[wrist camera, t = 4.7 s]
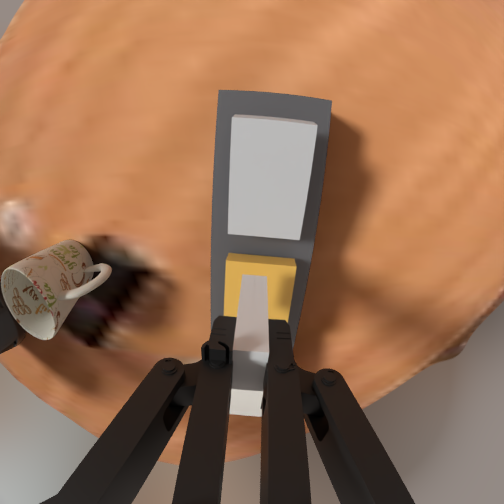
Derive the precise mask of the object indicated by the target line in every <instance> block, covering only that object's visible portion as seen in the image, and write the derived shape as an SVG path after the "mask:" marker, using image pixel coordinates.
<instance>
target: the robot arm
mask: <svg viewBox="0 0 504 504" xmlns="http://www.w3.org/2000/svg"><path fill="white" fill-rule="evenodd" d="M24 337H25V329H24V328H23V327H22V326H21V325H20V324H19V323H18V322H17V321H16V319H15V318H14V316H13V315H12V313H11V312H10V310H9V308H8V306H7V304H6V302H5V299H4V297H3V293H2V289H1V283H0V354H2V353H3V352H5V351H8V350H10V349H12V348H13V347H16V346H17V345H18V344H19V343H20V342H21V341H22V340H23V339H24ZM201 353H202V360H200V361H198V362H196V363H192V364H184V365H183V364H182V362H181V361H179V360H177V359H175V358H164V359H162V360H160V361H158V362H157V363H156V364H155V366H154V367H153V368H152V369H151V371H150V372H149V373H148V375H147V376H146V377H145V379H144V380H143V381H142V383H141V384H140V385H139V386H138V388H137V389H136V390H135V392H134V393H133V394H132V396H131V397H130V398H129V400H128V401H127V402H126V403H125V405H124V406H123V407H122V409H121V410H120V411H119V413H118V414H117V415H116V417H115V418H114V419H113V421H112V422H111V423H110V425H109V426H108V427H107V428H106V430H105V431H104V432H103V434H102V435H101V436H100V438H99V439H98V440H97V442H96V443H95V444H94V446H93V447H92V448H91V450H90V451H89V452H88V454H87V455H86V456H85V458H84V459H83V460H82V462H81V463H80V464H79V466H78V467H77V469H76V470H75V471H74V473H73V474H72V475H71V476H70V478H69V479H68V480H67V482H66V483H65V484H64V486H63V487H62V489H61V490H60V491H59V493H58V494H57V495H55V496H53V497H51V498H49V499H48V500H46V501H44V502H42V503H40V504H131V503H132V502H133V500H134V499H135V497H136V495H137V494H138V492H139V490H140V488H141V487H142V485H143V484H144V482H145V480H146V479H147V477H148V475H149V474H150V472H151V470H152V469H153V467H154V465H155V464H156V462H157V460H158V459H159V457H160V455H161V453H162V452H163V450H164V448H165V447H166V445H167V443H168V441H169V440H170V438H171V436H172V435H173V433H174V431H175V429H176V428H177V426H178V424H179V422H180V421H181V419H182V417H183V416H184V414H185V412H186V410H187V409H188V407H189V406H190V405H192V408H191V412H190V417H189V422H188V426H187V431H186V436H185V440H184V445H183V450H182V455H181V460H180V465H179V470H178V475H177V480H176V485H175V491H174V496H173V501H172V504H220V502H221V491H222V481H223V471H224V461H225V451H226V441H227V431H228V422H229V412H230V402H231V389H238V390H251V391H263V397H262V403H261V408H260V409H262V428H261V479H260V483H261V484H260V504H311V493H310V480H309V468H308V458H307V457H308V456H307V446H306V437H305V425H304V419H305V421H306V424H307V426H308V428H309V431H310V433H311V435H312V438H313V440H314V443H315V445H316V447H317V450H318V452H319V454H320V457H321V459H322V462H323V464H324V466H325V469H326V471H327V473H328V476H329V478H330V480H331V483H332V485H333V487H334V489H335V492H336V494H337V496H338V499H339V501H340V503H341V504H415V503H414V501H413V499H412V498H411V495H410V494H409V492H408V490H407V488H406V486H405V485H404V483H403V481H402V479H401V477H400V476H399V474H398V472H397V470H396V468H395V467H394V465H393V463H392V461H391V460H390V458H389V456H388V454H387V452H386V451H385V449H384V447H383V445H382V444H381V442H380V441H379V438H378V437H377V435H376V433H375V432H374V430H373V428H372V426H371V424H370V423H369V421H368V419H367V418H366V416H365V414H364V412H363V411H362V409H361V407H360V405H359V404H358V402H357V400H356V399H355V397H354V395H353V393H352V392H351V390H350V388H349V387H348V385H347V383H346V382H345V380H344V378H343V376H342V375H341V374H340V373H339V372H337V371H335V370H333V369H322V370H319V371H318V372H317V373H316V374H315V373H311V372H308V371H305V370H303V369H301V368H299V367H298V366H297V364H296V363H295V361H294V355H293V347H292V340H291V331H290V326H289V324H288V323H287V322H286V320H279V319H268V293H267V276H257V275H244V274H242V281H241V289H240V296H239V304H238V312H237V317H231V316H220V315H219V316H218V317H217V318H216V319H215V320H214V322H213V326H212V330H211V335H210V339H209V341H207V342H205V343H204V344H203V345H202V347H201Z"/></svg>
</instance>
